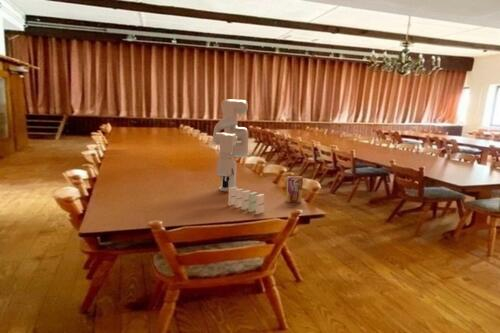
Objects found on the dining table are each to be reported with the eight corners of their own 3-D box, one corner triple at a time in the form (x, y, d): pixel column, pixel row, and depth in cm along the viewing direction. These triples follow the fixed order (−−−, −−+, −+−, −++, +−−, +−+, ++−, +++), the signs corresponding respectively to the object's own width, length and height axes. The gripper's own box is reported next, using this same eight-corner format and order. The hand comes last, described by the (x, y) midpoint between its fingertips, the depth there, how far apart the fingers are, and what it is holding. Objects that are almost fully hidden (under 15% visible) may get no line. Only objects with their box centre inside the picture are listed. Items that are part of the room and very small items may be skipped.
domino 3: (241, 209, 189) (241, 191, 187) (247, 207, 193) (247, 190, 191) (243, 210, 188) (244, 192, 186) (249, 208, 192) (250, 190, 190)
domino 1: (228, 205, 196) (228, 188, 194) (234, 203, 199) (234, 186, 197) (230, 205, 195) (230, 188, 193) (236, 204, 198) (236, 187, 196)
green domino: (248, 211, 186) (248, 193, 184) (254, 209, 190) (254, 191, 188) (250, 212, 185) (251, 194, 183) (256, 210, 189) (257, 192, 187)
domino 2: (234, 207, 192) (235, 189, 191) (240, 205, 196) (241, 188, 194) (236, 207, 191) (237, 190, 189) (242, 206, 195) (243, 188, 193)
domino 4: (255, 213, 183) (256, 195, 181) (261, 211, 187) (262, 193, 185) (257, 214, 182) (258, 196, 180) (263, 212, 186) (264, 194, 184)
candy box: (299, 200, 211) (301, 176, 208) (301, 202, 207) (303, 177, 204) (285, 200, 210) (287, 175, 207) (287, 202, 206) (288, 177, 203)
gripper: (212, 154, 197) (211, 186, 200) (231, 157, 188) (230, 190, 191) (221, 153, 203) (220, 184, 206) (240, 156, 193) (239, 188, 196)
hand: (225, 187), depth 198 cm, fingers closed
